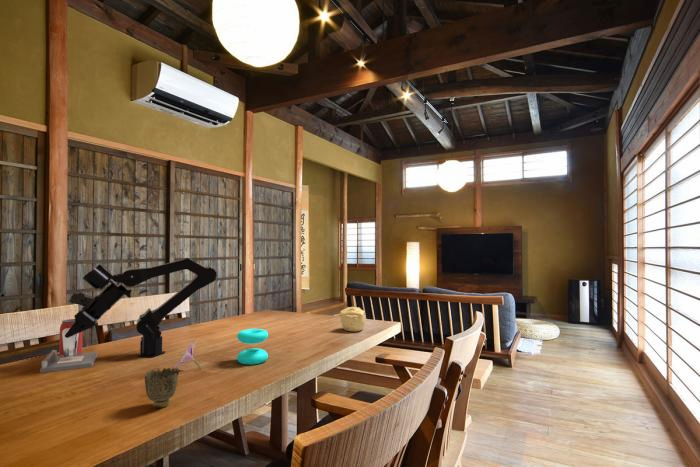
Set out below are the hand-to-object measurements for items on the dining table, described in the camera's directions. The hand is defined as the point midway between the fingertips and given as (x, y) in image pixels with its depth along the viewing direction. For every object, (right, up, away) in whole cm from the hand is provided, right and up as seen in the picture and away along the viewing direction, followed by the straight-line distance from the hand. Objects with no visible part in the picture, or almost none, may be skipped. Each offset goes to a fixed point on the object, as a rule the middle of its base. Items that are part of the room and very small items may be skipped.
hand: (67, 335), depth 127 cm
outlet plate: (+1, -9, 0) cm, 9 cm away
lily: (+41, -9, -6) cm, 43 cm away
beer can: (-6, -10, +11) cm, 16 cm away
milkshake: (+1, -7, 0) cm, 7 cm away
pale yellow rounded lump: (+93, -12, +53) cm, 108 cm away
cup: (+47, -8, -34) cm, 58 cm away
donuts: (+59, -10, +3) cm, 60 cm away
